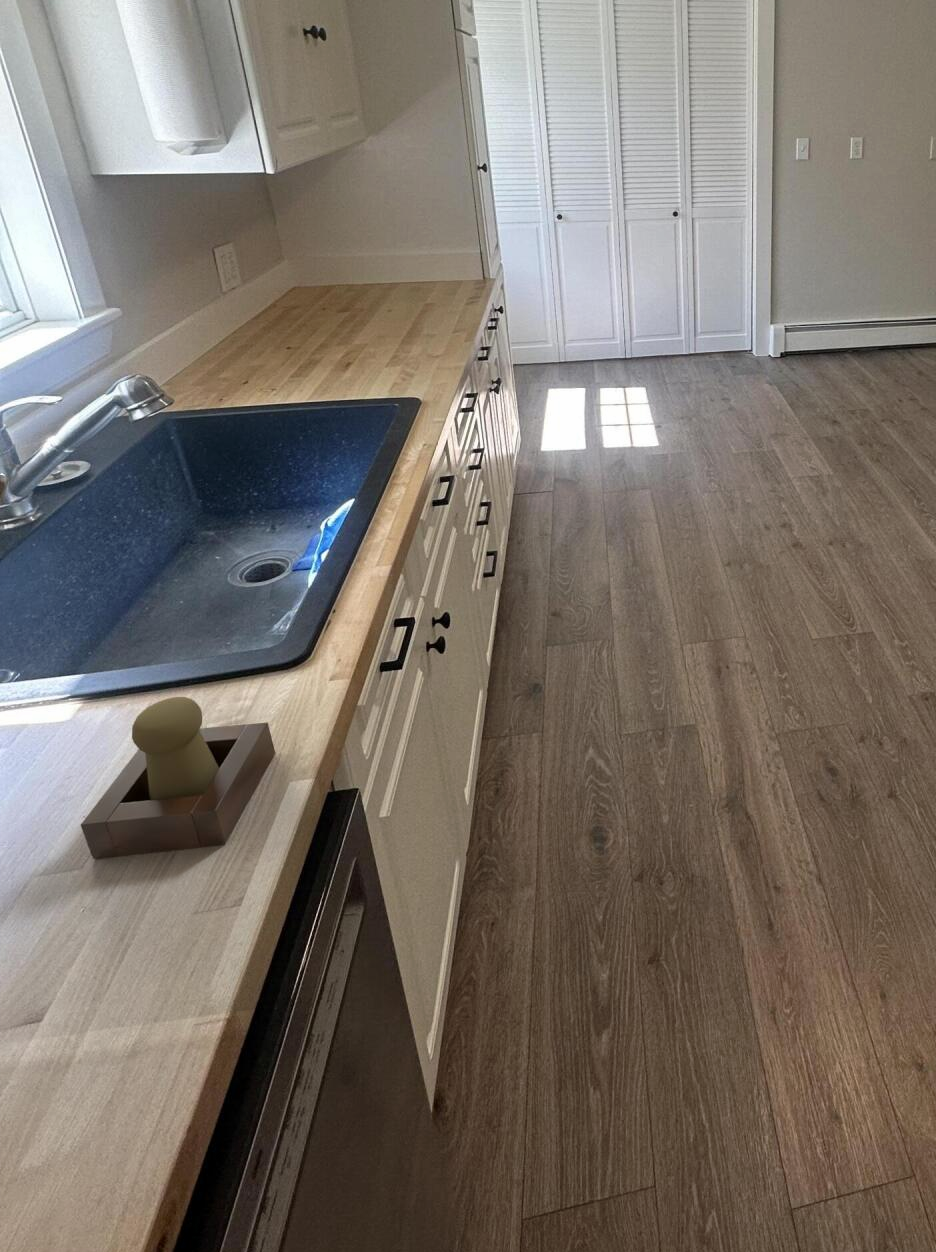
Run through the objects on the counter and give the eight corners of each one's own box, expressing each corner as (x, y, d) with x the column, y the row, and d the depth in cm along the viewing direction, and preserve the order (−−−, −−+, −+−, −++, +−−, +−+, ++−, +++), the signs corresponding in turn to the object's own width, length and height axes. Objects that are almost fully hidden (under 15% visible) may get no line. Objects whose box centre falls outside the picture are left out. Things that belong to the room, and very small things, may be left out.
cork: (193, 834, 72) (163, 738, 68) (135, 824, 73) (103, 729, 69) (243, 781, 77) (219, 690, 74) (189, 773, 78) (162, 682, 74)
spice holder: (92, 859, 69) (80, 825, 68) (161, 764, 79) (151, 732, 78) (225, 844, 71) (215, 810, 69) (275, 753, 81) (268, 721, 79)
